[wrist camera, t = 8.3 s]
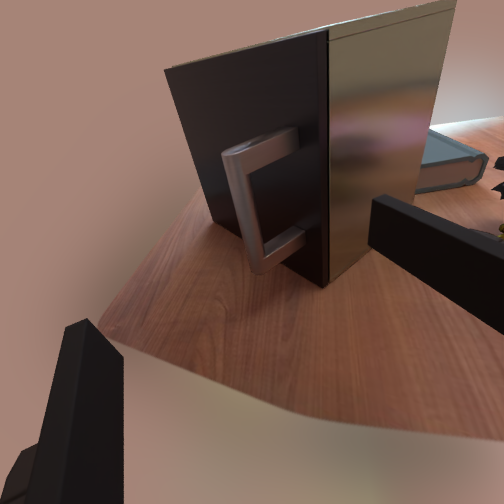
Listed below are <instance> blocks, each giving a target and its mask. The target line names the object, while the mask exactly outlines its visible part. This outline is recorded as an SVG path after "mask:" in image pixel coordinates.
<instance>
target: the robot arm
mask: <svg viewBox="0 0 504 504" xmlns="http://www.w3.org/2000/svg"><path fill="white" fill-rule="evenodd" d="M367 245H368V246H370V247H371V248H373V249H374V250H376V251H377V252H379V253H380V254H382V255H383V256H385V257H386V258H388V259H389V260H391V261H392V262H394V263H395V264H397V265H398V266H400V267H402V268H403V269H405V270H406V271H408V272H409V273H411V274H412V275H414V276H415V277H417V278H418V279H420V280H421V281H423V282H424V283H426V284H427V285H429V286H430V287H432V288H433V289H435V290H436V291H438V292H439V293H441V294H442V295H444V296H445V297H447V298H448V299H450V300H451V301H453V302H454V303H456V304H457V305H459V306H460V307H462V308H463V309H465V310H466V311H468V312H469V313H471V314H472V315H474V316H475V317H477V318H478V319H480V320H481V321H483V322H484V323H486V324H487V325H489V326H490V327H492V328H493V329H495V330H497V331H498V332H500V333H501V334H503V335H504V240H503V239H502V238H500V237H497V236H495V235H492V234H490V233H487V232H483V231H478V230H474V229H467V228H465V227H463V226H460V225H458V224H456V223H453V222H451V221H448V220H446V219H444V218H441V217H439V216H437V215H434V214H432V213H430V212H427V211H425V210H422V209H420V208H418V207H415V206H413V205H411V204H408V203H406V202H403V201H401V200H399V199H396V198H394V197H392V196H389V195H387V194H383V195H380V196H378V197H375V198H373V199H372V204H371V213H370V223H369V233H368V242H367ZM123 366H124V358H123V356H122V355H121V354H120V353H119V352H118V351H117V350H116V349H115V347H114V346H113V345H112V344H111V343H110V342H109V341H108V340H107V339H106V338H105V337H104V336H103V335H102V334H101V332H100V331H99V330H98V329H97V328H96V327H95V326H94V325H93V324H92V323H91V322H90V321H89V320H88V319H87V318H86V319H84V320H81V321H79V322H77V323H74V324H72V325H70V326H67V327H66V328H65V331H64V336H63V340H62V344H61V349H60V353H59V357H58V361H57V365H56V369H55V374H54V378H53V382H52V386H51V391H50V395H49V399H48V403H47V407H46V412H45V416H44V420H43V424H42V429H41V433H40V437H39V441H38V443H37V444H35V445H33V446H31V447H29V448H27V449H25V450H23V451H21V453H20V455H19V457H18V458H17V460H16V462H15V464H14V466H13V467H12V469H11V471H10V473H9V474H8V476H7V479H6V482H5V485H4V488H3V492H2V495H1V499H0V504H124V433H123V432H124V393H123V392H124V378H123V377H124V370H123V369H124V367H123Z"/></svg>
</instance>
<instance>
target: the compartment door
mask: <svg viewBox="0 0 504 504" xmlns="http://www.w3.org/2000/svg"><path fill="white" fill-rule="evenodd" d="M164 72H165V75H166V79H167V82H168V85H169V88H170V91H171V94H172V97H173V100H174V103H175V106H176V109H177V112H178V115H179V118H180V121H181V124H182V127H183V131H184V133H185V137H186V140H187V143H188V146H189V149H190V152H191V155H192V158H193V161H194V164H195V167H196V170H197V173H198V176H199V179H200V182H201V186H202V189H203V192H204V195H205V198H206V201H207V204H208V207H209V210H210V213H211V216H212V219H213V221H214V222H216V223H217V224H219V225H221V226H222V227H224V228H226V229H227V230H229V231H230V232H232V233H234V234H235V235H237V236H238V237H240V238H242V239H243V241H244V245H245V249H246V253H247V257H248V261H249V265H250V269H251V272H252V273H253V274H255V275H262V274H264V273H266V272H267V271H269V270H270V269H272V268H273V267H274V266H276V265H277V264H279V263H282V264H284V265H285V266H287V267H289V268H290V269H292V270H293V271H295V272H297V273H298V274H300V275H301V276H303V277H305V278H306V279H308V280H310V281H311V282H313V283H314V284H316V285H318V286H319V287H321V288H324V287H326V286H327V285H328V189H327V43H326V30H325V29H324V30H320V31H315V32H311V33H307V34H303V35H300V36H296V37H292V38H288V39H284V40H280V41H276V42H272V43H268V44H264V45H260V46H256V47H252V48H248V49H244V50H240V51H236V52H232V53H228V54H224V55H220V56H216V57H212V58H208V59H204V60H200V61H196V62H192V63H188V64H184V65H180V66H177V67H173V68H169V69H165V70H164Z"/></svg>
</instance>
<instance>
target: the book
mask: <svg viewBox="0 0 504 504" xmlns="http://www.w3.org/2000/svg"><path fill="white" fill-rule="evenodd" d="M488 160H489V157H488V156H487V155H486V154H485V153H482V152H480V151H478V150H476V149H473V148H471V147H469V146H467V145H464V144H462V143H460V142H458V141H456V140H453V139H451V138H449V137H447V136H444V135H442V134H440V133H438V132H435V131H433V130H431V129H429V131H428V135H427V140H426V144H425V149H424V154H423V158H422V163H421V167H420V172H419V176H418V181H417V185H416V190H415V194H419V193H425V192H431V191H437V190H443V189H449V188H456V187H461V186H463V185H464V184H465V185H467V186H468V185H473V184H475V183H476V182H477V181H479V180H480V179H481V178H482V176H483V173H484V170H485V168H486V165H487V163H488Z"/></svg>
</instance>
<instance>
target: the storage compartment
mask: <svg viewBox="0 0 504 504" xmlns="http://www.w3.org/2000/svg"><path fill="white" fill-rule="evenodd" d="M456 3H457V0H440V1H435V2H431V3H427V4H422V5H417V6H413V7H409V8H404V9H400V10H395V11H391V12H386V13H382V14H378V15H373V16H368V17H364V18H359V19H355V20H350V21H346V22H341V23H337V24H333V25H328V26H325V27H321V28H317V29H313V30H309V31H305V32H301V33H298V34H294V35H290V36H287V37H282V38H279V39H275V40H271V41H267V42H263V43H259V44H255V45H252V46H248V47H244V48H240V49H237V50H232V51H229V52H225V53H221V54H217V55H213V56H210V57H206V58H202V59H198V60H194V61H190V62H187V63H183V64H179V65H175V66H172V68H173V67H177V66H180V65H184V64H188V63H192V62H196V61H200V60H204V59H208V58H212V57H216V56H220V55H224V54H228V53H232V52H236V51H240V50H244V49H248V48H252V47H256V46H260V45H264V44H268V43H272V42H276V41H280V40H284V39H288V38H292V37H296V36H300V35H303V34H307V33H311V32H315V31H320V30H324V29H325V30H326V43H327V189H328V283H329V284H330V283H331V282H333V281H334V280H335V279H336V278H337V277H339V276H340V275H341V274H342V273H343V272H345V271H346V270H347V269H348V268H349V267H351V266H352V265H353V264H354V263H355V262H357V261H358V260H359V259H360V258H361V257H362V256H364V255H365V254H366V253H367V252H368V251H370V250H371V249H372V248H371V247H370V246H368V245H367V242H368V233H369V223H370V213H371V204H372V199H373V198H375V197H378V196H380V195H383V194H387V195H389V196H392V197H394V198H396V199H399V200H401V201H403V202H406V203H408V204H411V205H412V204H413V199H414V195H415V190H416V185H417V181H418V176H419V172H420V167H421V163H422V158H423V154H424V149H425V144H426V140H427V135H428V131H429V126H430V121H431V117H432V113H433V108H434V103H435V99H436V94H437V89H438V85H439V81H440V76H441V71H442V67H443V62H444V58H445V53H446V49H447V44H448V40H449V35H450V30H451V26H452V21H453V16H454V12H455V7H456Z"/></svg>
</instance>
